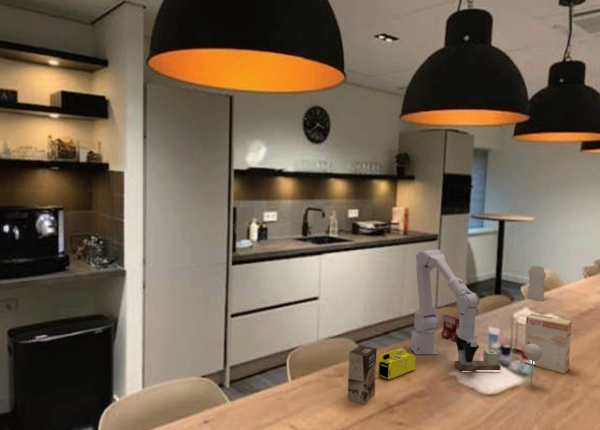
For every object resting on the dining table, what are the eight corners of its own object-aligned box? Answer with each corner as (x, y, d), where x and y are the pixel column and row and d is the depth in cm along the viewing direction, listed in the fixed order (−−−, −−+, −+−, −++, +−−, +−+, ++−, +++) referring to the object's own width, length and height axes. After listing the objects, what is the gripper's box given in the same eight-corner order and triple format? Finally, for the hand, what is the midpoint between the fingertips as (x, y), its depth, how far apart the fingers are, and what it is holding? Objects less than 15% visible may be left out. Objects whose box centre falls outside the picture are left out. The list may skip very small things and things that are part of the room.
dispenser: (525, 298, 297) (527, 264, 295) (528, 297, 299) (530, 264, 298) (542, 301, 289) (544, 267, 287) (545, 301, 291) (547, 266, 290)
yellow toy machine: (403, 366, 180) (404, 345, 180) (415, 371, 176) (416, 350, 176) (376, 376, 170) (377, 354, 170) (389, 382, 166) (389, 359, 165)
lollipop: (533, 389, 162) (535, 348, 161) (518, 382, 167) (520, 342, 166) (544, 386, 165) (546, 345, 164) (529, 379, 170) (531, 340, 169)
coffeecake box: (569, 368, 181) (572, 320, 180) (564, 374, 176) (567, 324, 175) (528, 358, 192) (531, 312, 190) (523, 363, 186) (526, 316, 185)
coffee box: (364, 405, 148) (366, 356, 147) (346, 399, 151) (348, 352, 150) (375, 394, 155) (377, 347, 154) (358, 389, 159) (360, 344, 158)
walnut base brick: (459, 372, 176) (460, 365, 176) (454, 366, 181) (454, 360, 181) (500, 372, 177) (500, 365, 176) (494, 366, 182) (494, 360, 181)
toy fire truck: (461, 344, 207) (462, 321, 207) (438, 336, 217) (439, 315, 216) (470, 341, 212) (471, 319, 211) (447, 334, 221) (447, 312, 221)
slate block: (462, 365, 176) (463, 352, 176) (458, 361, 180) (458, 348, 180) (472, 365, 176) (473, 352, 176) (468, 361, 180) (468, 348, 180)
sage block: (488, 365, 177) (488, 352, 176) (483, 361, 181) (483, 348, 180) (498, 365, 177) (498, 352, 177) (493, 361, 181) (493, 348, 181)
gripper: (485, 330, 170) (483, 365, 171) (469, 318, 185) (467, 351, 186) (467, 330, 170) (465, 365, 171) (451, 318, 184) (450, 351, 185)
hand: (465, 358), depth 178 cm, fingers open, 6 cm apart
